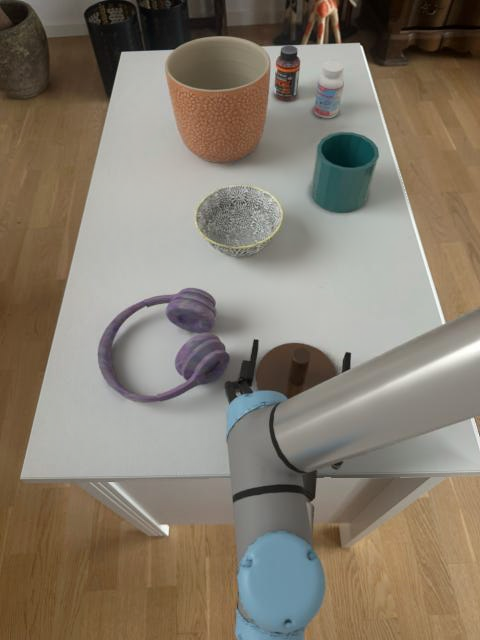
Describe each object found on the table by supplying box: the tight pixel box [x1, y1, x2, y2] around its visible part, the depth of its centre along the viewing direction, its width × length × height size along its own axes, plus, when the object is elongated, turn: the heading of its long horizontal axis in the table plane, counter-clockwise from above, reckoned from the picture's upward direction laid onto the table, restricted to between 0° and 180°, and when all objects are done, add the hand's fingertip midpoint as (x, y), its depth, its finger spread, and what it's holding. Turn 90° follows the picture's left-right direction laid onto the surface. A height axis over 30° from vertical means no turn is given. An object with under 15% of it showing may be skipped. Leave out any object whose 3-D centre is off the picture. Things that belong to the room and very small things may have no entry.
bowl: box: [194, 184, 284, 257], centre depth 83 cm, size 16×16×8 cm
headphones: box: [97, 287, 230, 403], centre depth 70 cm, size 18×8×20 cm
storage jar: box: [310, 131, 380, 214], centre depth 89 cm, size 12×12×10 cm
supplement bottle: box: [273, 44, 301, 102], centre depth 109 cm, size 6×6×11 cm
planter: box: [164, 35, 272, 164], centre depth 95 cm, size 21×21×19 cm
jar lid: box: [255, 342, 338, 399], centre depth 66 cm, size 13×13×9 cm
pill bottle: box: [313, 60, 345, 119], centre depth 104 cm, size 6×6×11 cm
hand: (300, 349), depth 66 cm, fingers open, 13 cm apart
